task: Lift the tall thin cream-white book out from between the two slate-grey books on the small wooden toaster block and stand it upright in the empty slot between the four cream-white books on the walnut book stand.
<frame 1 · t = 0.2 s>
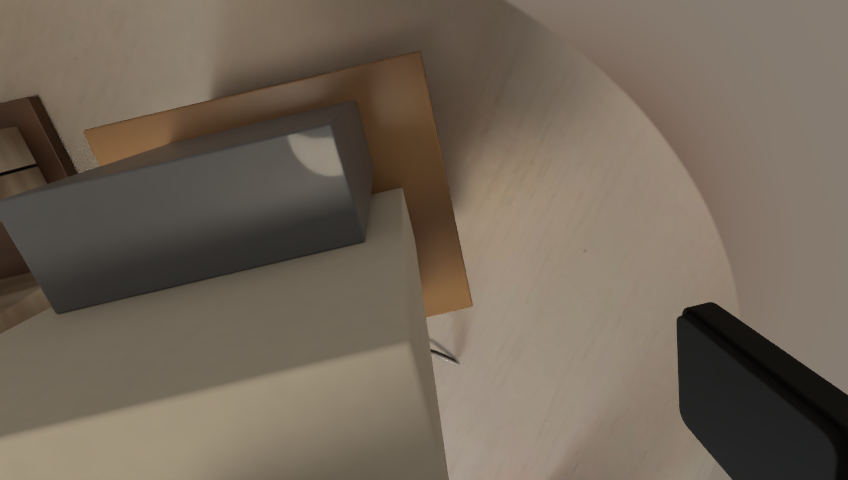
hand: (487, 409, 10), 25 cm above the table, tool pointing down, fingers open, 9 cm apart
white books: (15, 241, 34), on the table
white book: (300, 239, 20), point 14 cm above the table, tilted 7°, touching grey books, gripper, wooden toaster block
wooden toaster block: (332, 166, 34), on the table
grey books: (297, 227, 20), resting on wooden toaster block
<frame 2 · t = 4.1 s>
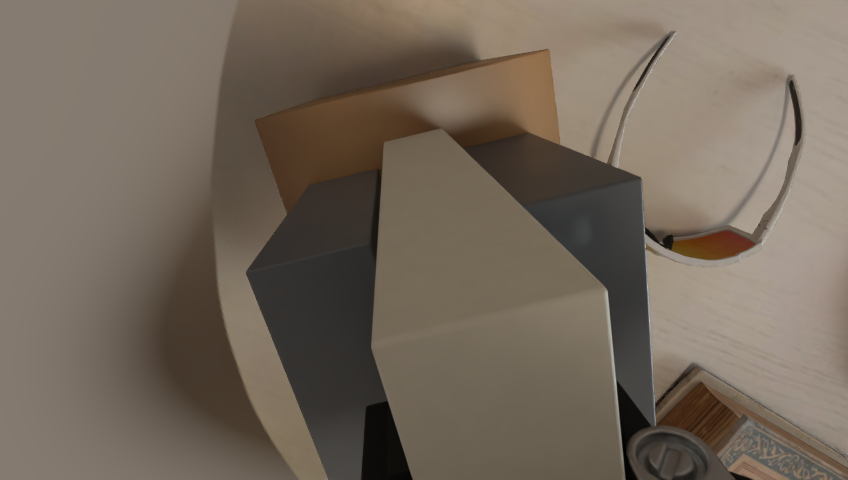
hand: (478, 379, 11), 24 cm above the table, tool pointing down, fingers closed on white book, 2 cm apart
white book: (438, 245, 20), point 14 cm above the table, touching gripper, wooden toaster block
sunglasses: (683, 154, 35), on the table
wooden toaster block: (418, 179, 34), on the table
book: (720, 474, 46), on the table
grey books: (438, 245, 20), resting on wooden toaster block
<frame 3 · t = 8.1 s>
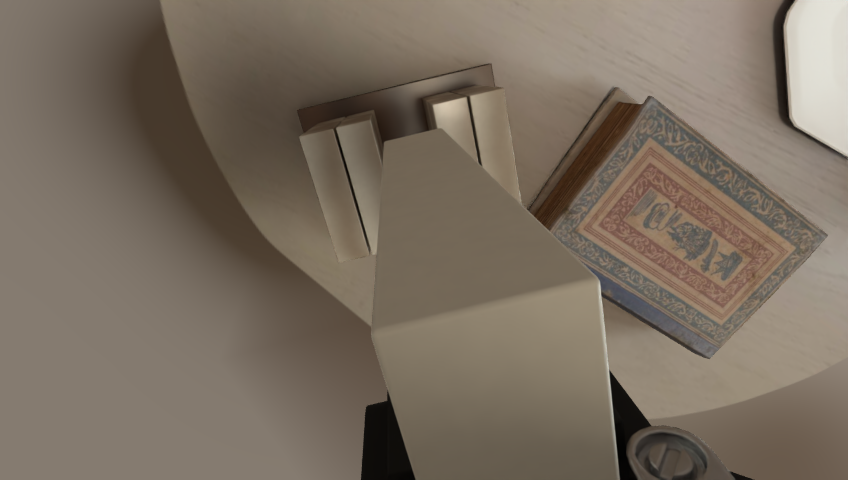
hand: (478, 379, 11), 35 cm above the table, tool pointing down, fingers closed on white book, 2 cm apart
white books: (410, 155, 44), on the table
white book: (438, 244, 21), point 25 cm above the table, touching gripper
book: (646, 224, 49), on the table
when the fingers open (18 cm above the table, at t = 12.2 s): white book drops 7 cm, resting on white books.
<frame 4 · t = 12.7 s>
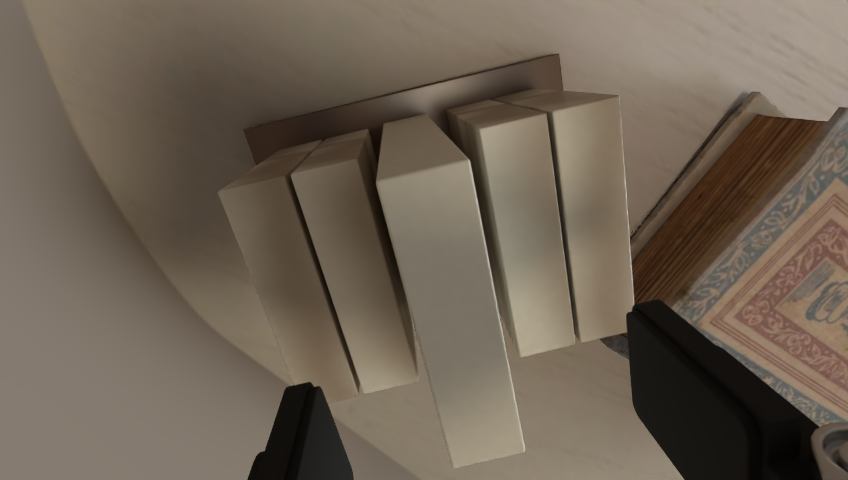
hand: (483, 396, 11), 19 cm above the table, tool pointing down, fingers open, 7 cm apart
white books: (425, 198, 28), on the table
white book: (424, 201, 27), point 1 cm above the table, touching white books
book: (774, 293, 33), on the table
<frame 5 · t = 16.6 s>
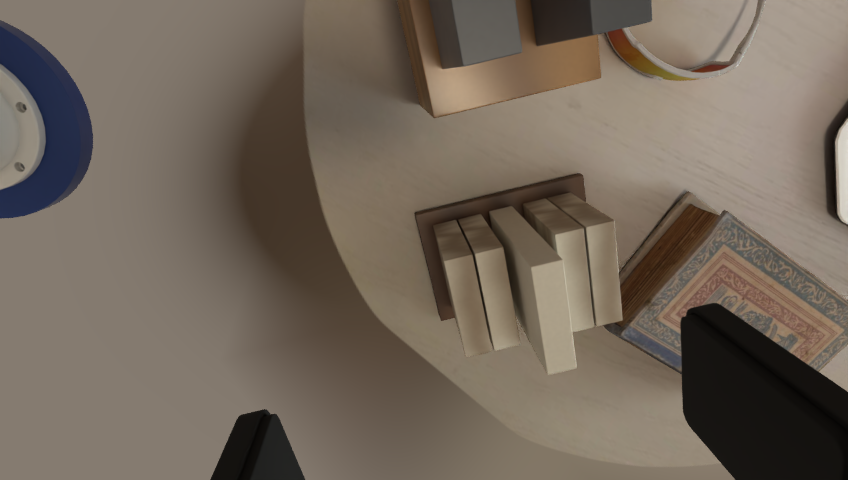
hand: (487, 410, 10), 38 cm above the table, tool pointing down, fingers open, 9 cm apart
white books: (506, 248, 51), on the table
white book: (507, 251, 50), point 1 cm above the table, touching white books
wooden toaster block: (466, 14, 42), on the table
book: (707, 300, 55), on the table
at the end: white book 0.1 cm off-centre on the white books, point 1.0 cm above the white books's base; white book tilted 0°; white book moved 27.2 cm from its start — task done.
